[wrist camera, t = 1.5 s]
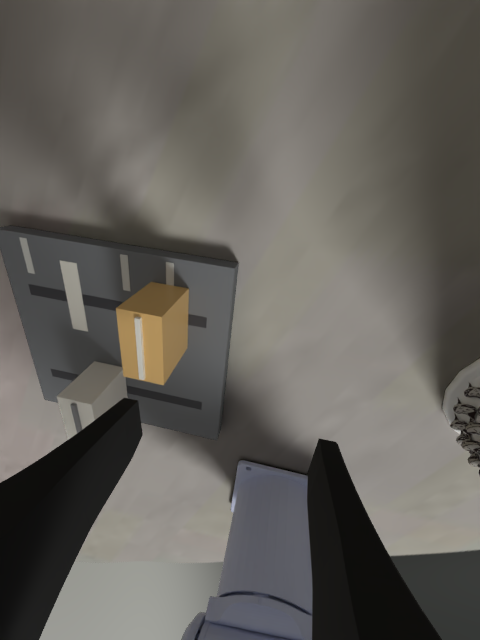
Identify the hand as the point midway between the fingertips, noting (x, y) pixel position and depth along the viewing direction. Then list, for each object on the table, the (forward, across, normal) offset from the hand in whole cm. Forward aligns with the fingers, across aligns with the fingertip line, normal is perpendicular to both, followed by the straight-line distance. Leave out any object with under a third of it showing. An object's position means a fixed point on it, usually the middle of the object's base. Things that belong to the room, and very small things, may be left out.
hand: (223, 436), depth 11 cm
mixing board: (+10, +10, +4) cm, 14 cm away
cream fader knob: (+8, +11, +7) cm, 15 cm away
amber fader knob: (+8, +6, 0) cm, 10 cm away
